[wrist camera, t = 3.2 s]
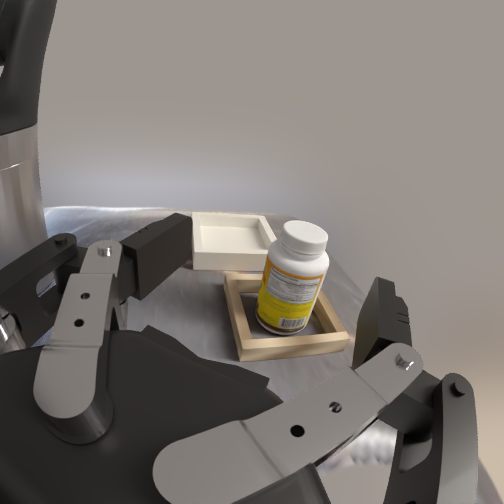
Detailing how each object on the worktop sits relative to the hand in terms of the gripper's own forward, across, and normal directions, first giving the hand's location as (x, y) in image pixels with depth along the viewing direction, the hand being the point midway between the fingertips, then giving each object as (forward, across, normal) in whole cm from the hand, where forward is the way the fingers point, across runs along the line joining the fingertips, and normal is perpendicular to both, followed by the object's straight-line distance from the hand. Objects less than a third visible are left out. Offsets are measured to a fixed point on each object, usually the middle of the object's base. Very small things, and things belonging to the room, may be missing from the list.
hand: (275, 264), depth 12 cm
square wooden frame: (+13, 0, +14) cm, 19 cm away
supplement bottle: (+13, 0, +14) cm, 19 cm away
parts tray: (+23, +10, +14) cm, 28 cm away
